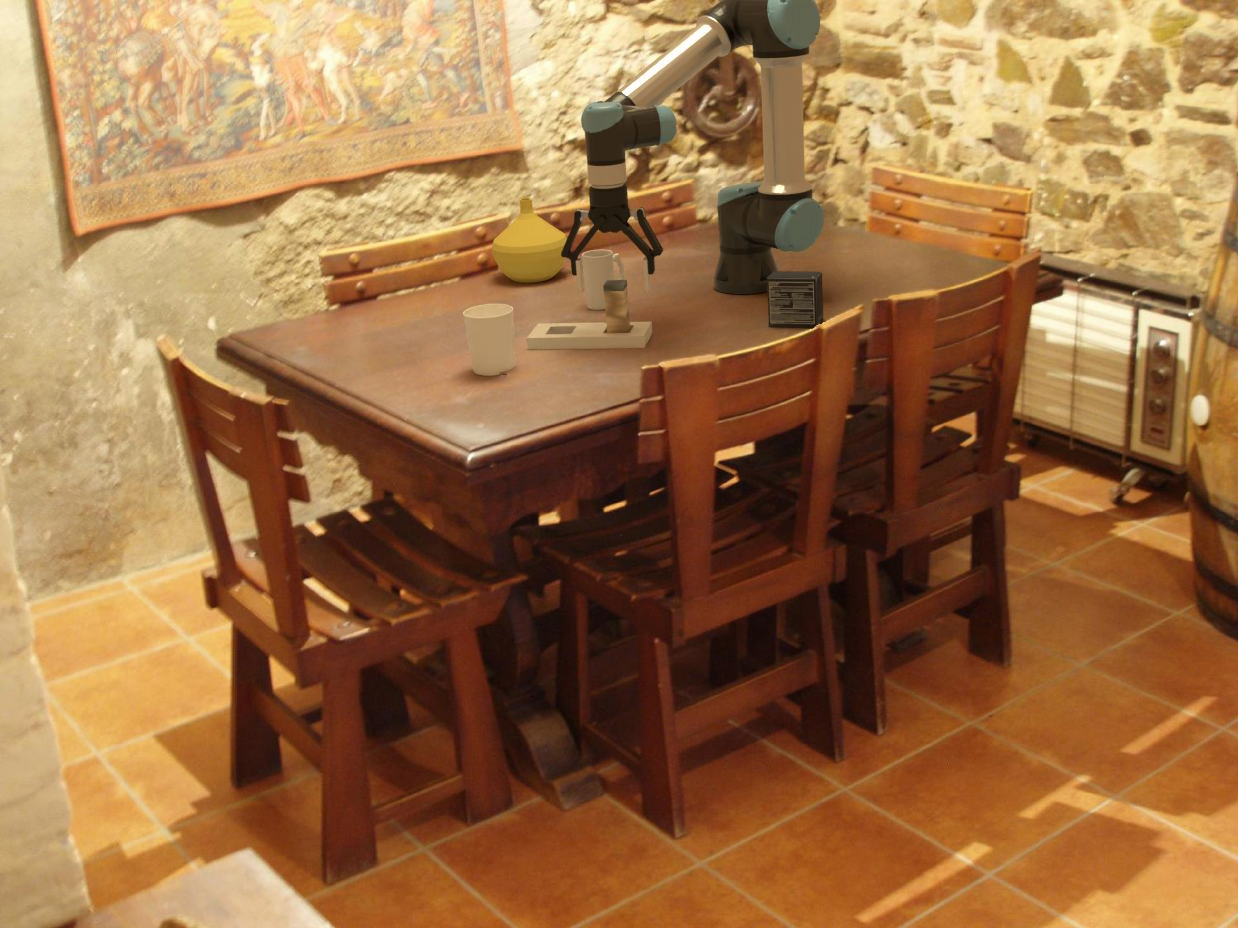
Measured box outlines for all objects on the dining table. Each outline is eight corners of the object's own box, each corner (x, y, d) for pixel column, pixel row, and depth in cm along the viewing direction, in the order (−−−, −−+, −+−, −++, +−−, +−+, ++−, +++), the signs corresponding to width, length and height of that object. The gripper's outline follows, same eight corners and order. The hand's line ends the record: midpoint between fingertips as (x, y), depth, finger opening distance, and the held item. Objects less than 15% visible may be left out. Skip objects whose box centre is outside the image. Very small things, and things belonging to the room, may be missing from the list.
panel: (652, 335, 294) (651, 321, 292) (644, 350, 285) (643, 336, 283) (539, 337, 298) (538, 323, 297) (528, 352, 289) (526, 338, 288)
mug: (597, 312, 313) (592, 258, 308) (580, 306, 318) (575, 254, 314) (634, 302, 318) (630, 249, 314) (617, 297, 323) (613, 245, 319)
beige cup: (469, 364, 285) (462, 306, 280) (518, 359, 285) (512, 301, 281) (469, 379, 275) (462, 319, 271) (519, 374, 276) (513, 315, 271)
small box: (824, 319, 296) (823, 270, 292) (818, 328, 290) (817, 278, 286) (774, 318, 299) (773, 269, 295) (767, 327, 293) (765, 277, 289)
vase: (558, 264, 356) (551, 188, 349) (580, 280, 340) (573, 200, 332) (487, 275, 351) (479, 198, 344) (506, 292, 335) (497, 211, 327)
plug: (631, 337, 291) (626, 279, 287) (627, 343, 288) (623, 285, 283) (611, 337, 292) (606, 280, 288) (607, 343, 289) (603, 285, 284)
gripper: (673, 179, 279) (678, 285, 287) (549, 182, 284) (557, 286, 292) (668, 186, 272) (673, 294, 280) (541, 190, 277) (549, 296, 285)
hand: (614, 290), depth 286 cm, fingers open, 13 cm apart
